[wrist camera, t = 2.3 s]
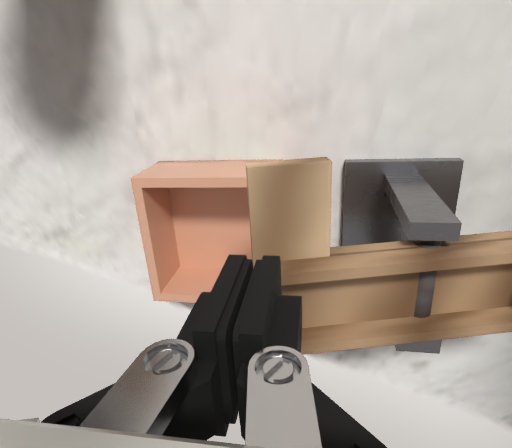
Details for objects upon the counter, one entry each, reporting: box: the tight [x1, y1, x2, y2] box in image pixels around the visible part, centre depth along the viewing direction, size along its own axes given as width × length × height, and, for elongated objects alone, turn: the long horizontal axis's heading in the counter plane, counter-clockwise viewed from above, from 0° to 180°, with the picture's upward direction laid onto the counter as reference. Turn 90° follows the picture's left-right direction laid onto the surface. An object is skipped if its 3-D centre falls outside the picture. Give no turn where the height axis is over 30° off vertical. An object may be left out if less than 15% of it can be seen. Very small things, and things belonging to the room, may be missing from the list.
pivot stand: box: [342, 158, 464, 354], centre depth 25 cm, size 8×10×10 cm
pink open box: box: [131, 159, 283, 303], centre depth 30 cm, size 10×10×5 cm
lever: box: [246, 157, 512, 355], centre depth 19 cm, size 18×10×3 cm, turn 93°
